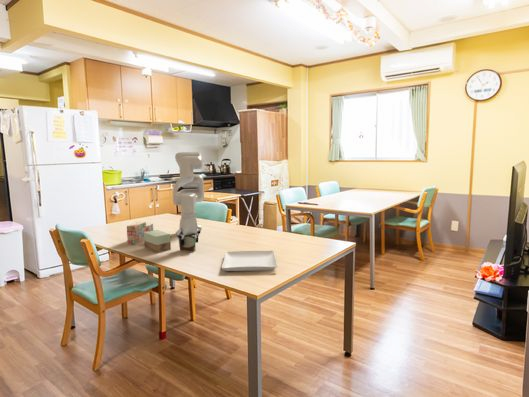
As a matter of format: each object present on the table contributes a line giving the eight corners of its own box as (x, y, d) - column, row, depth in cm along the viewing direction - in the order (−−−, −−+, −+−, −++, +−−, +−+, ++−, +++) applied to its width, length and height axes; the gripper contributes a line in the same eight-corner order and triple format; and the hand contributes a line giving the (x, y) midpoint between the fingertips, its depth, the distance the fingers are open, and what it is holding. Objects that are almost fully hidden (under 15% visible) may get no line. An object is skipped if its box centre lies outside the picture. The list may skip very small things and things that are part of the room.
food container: (201, 249, 202) (200, 233, 201) (196, 252, 197) (195, 235, 195) (183, 247, 206) (182, 231, 205) (177, 250, 201) (177, 233, 199)
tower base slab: (158, 245, 212) (157, 237, 212) (170, 250, 202) (170, 241, 201) (144, 248, 206) (144, 240, 205) (157, 253, 196) (156, 245, 195)
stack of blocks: (145, 236, 235) (144, 219, 233) (154, 236, 234) (153, 219, 232) (127, 244, 214) (126, 225, 213) (136, 245, 213) (135, 225, 211)
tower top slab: (157, 237, 212) (157, 229, 211) (170, 242, 201) (170, 233, 201) (144, 240, 205) (143, 232, 204) (156, 245, 195) (156, 236, 194)
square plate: (274, 256, 189) (274, 249, 189) (277, 273, 162) (277, 265, 162) (225, 257, 188) (225, 250, 188) (221, 274, 161) (221, 266, 161)
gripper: (197, 212, 207) (197, 240, 209) (171, 216, 195) (173, 245, 197) (204, 214, 202) (205, 242, 204) (178, 218, 190) (180, 247, 192)
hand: (189, 243), depth 201 cm, fingers open, 9 cm apart
